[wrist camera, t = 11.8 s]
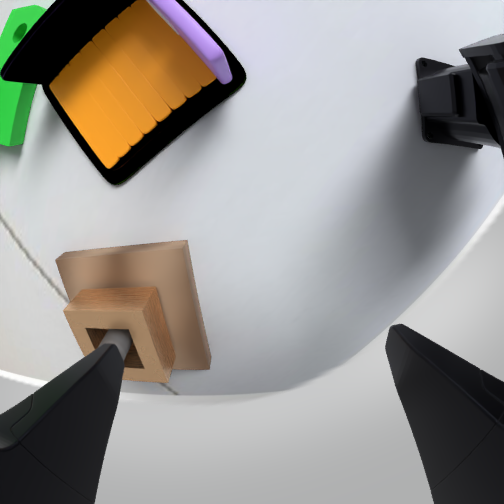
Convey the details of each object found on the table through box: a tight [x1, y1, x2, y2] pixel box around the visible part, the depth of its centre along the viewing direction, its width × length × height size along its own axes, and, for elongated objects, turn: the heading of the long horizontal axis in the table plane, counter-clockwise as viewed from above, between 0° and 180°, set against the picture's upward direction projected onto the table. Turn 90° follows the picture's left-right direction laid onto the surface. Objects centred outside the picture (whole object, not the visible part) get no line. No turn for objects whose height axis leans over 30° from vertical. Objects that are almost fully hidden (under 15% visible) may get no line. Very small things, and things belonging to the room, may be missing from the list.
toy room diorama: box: [0, 0, 246, 185], centre depth 12 cm, size 12×12×7 cm
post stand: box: [55, 240, 211, 370], centre depth 19 cm, size 11×11×7 cm
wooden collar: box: [63, 286, 176, 383], centre depth 19 cm, size 6×6×3 cm
